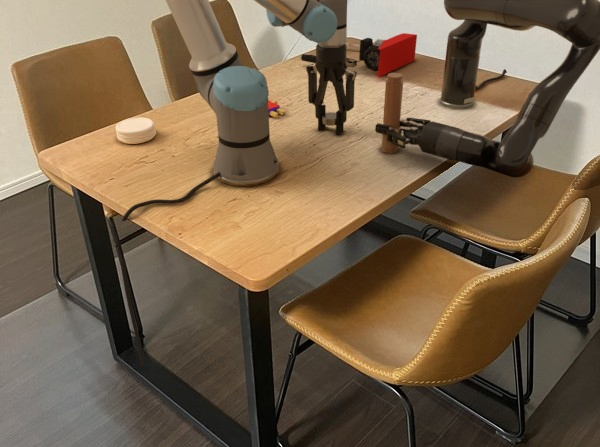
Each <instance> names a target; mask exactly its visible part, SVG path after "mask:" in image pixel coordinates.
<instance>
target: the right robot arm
mask: <svg viewBox="0 0 600 447" xmlns="http://www.w3.org/2000/svg"><path fill="white" fill-rule="evenodd" d="M443 6H444V10H445V12H446V13H447V15H448V16H449V18H451V19H453V20H455V21H463V22H462V23H461V24H460V25H458V26H457V27H455V28H454V29H452V30H451V31H449V33H448V35H447V42H446V49H445V50H446V51H445V59H444V68H443V77H442V85H441V94H440V98H439V99H440V100H439V101H440V104H441V105H443V106H444V107H448V108H451V109H467V108H470V107H473V105H474V102H475V93H476V91H479V90H481V88H482V87H483V86H485V84H488V83H490V82H495V81H498V80H500V79H503V78H504V77H505V75H506V74H507V70H506V69H505V68H504V69H503V70H502V73H501V75H499V76H495V77H491V78H487V79H486V80H483V81H482V82H481V83H480V84H479V85H478V86H477V78H478V72H479V64H480V59H481V50H482V43H483V39H484V37H485V35H486V33H487V28H488V25H491V26H495V27H500V28H504V29H507V30H513V31H519V32H525V31H529V30H532V29H534V28H535V27H539V28H542V29H545V30H549V31H551V32H554V33H555V34H556V35H558V36H560V37H561V38H564V39H565V40H566V41H567V42H569V43H571V46H570V49H569V50H568V53H567V55H566V57H565V58H564V59H563V61H562V62H561V64H560V65H559V66H557V68H556V69H554V70H553V71H552V72H551V73H550V74H549V75H547V76H546V77H545V78H544V79H542V80H541V81H540V82H539V83H537V85H536V86H534V88H532V90H531V91H530V92H529V94H528V95H527V97H526V99H525V100H524V103H523V105H522V107H521V108H520V111H519V113H518V115H517V117H516V119H515V121H514V123H513V124H512V126H511V127H510V128H509V130H508V131H507V132H506V133H505V135H504V136H503V138H502V139H501V141H497V140H494V139H491V138H490V137H488V136H486V135H482V134H479V133H475V132H471V131H468V130H465V129H463V128H459V127H456V126H452V125H449V124H445V123H440V122H436V121H432V120H430V119H424V118H415V117H406V119H403V118H402V119H401V118H400V127H399V128H396V127H390V126H387V125H383V123H376V124H375V127H374V128H375V130H374V131H375V133H377V134H380V135H382V134H384V135H387V141H388V142H390V143H392V144H394V145H396V146H398V148H400V149H405V148H406V147H407V146H406V145H412V146H418V147H419V148H420V151H421V152H422V153H423V154H427V155H431V156H435V157H438V158H442V159H445V160H449V161H453V162H454V161H455V162H459V163H463V164H467V165H469V166H475V167H481V168H484V169H487V170H488V171H489V170H490V171H492V172H495V173H498V174H501V175H504V176H507V177H509V178H522V177H524V176H526V175H528V174H529V173H530V172H531V170H532V169H533V167H534V164H535V163H534V162H535V161H534V160H535V159H534V157H533V154H532V152H533V150H534V148H535V147H536V145H537V143H538V142H539V140H540V139H542V138H544V137H545V136H546V134H547V133H548V131H549V130H550V128H551V126H552V123H553V122H554V120H555V118H556V116H557V114H558V113H559V110H560V108H561V107H562V105H563V103H564V101H565V100H566V98H567V96H568V95H569V93H570V91H571V90H572V89H573V87H574V86H575V85H576V83H577V82H578V80H579V79H580V78H581V77H582V75H583V74H584V72H585V71H586V70H587V69H588V67H589V66H590V64H591V62H592V61H593V60H594V58H595V57H596V56H597V54H598V53H599V51H600V1H599V0H443ZM394 131H397V132H398V133H396V132H394Z"/></svg>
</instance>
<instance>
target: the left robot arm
mask: <svg viewBox="0 0 600 447" xmlns="http://www.w3.org/2000/svg"><path fill="white" fill-rule="evenodd" d="M253 1H254V2H255V3H257V4H259V5H260V6H261V7H263V8H264V9H265V12H266V16H267V21H268V23H269V24H270V25H271V26H272V27H277V28H279V27H282V28H284V27H288V26H289V27H291V28H292V29H293V30H295V31H296V32H297V33H299V34H301V35H302V36H303V37H304V38H306V39H307V40H309V41H311V42H314V43H316V46H315V56H316V59H317V62H316V63H312V64H309V65H307V66H306V67H305V68H306V69H305V70H306V73H307V86H308V87H307V89H308V92H307V94H308V98H307V99H308V104H312V105H313V106H314V107H315V115H314V116H315V118H316V119H317V131H319V132H321V131H323V130H324V129H326V128H327V127H326V126H327V125H324V124H323V123H322V115H323V114H324V113H327V108H326V107H327V105H326V104H324V103H325V102H324V100H325V96H326V93H327V92H326V91H327V87H328V84H329V82H330V83H332V87H333V88H334V92H335V97H336V102H337V106H338V110H337V111H336V112H335V113H336V125H335V136H340V135H341V134H343V133H344V124H345V123H346V122H347V118H348V116H347V112H350V111H351V110H352V109H354V107H355V81H356V77H357V75H358V73H357V71H356V70H354V71H352V70H350V69H348V67H347V66H346V64H347V62H346V58H347V50H346V49H347V46H348V45H345V43H346V42H347V41H348V38H347V37H348V33H347V32H348V0H253ZM165 3H166V4H167V7H168V9H169V10H170V11H169V12H170V13H171V15H172V17H173V19H174V22H175V24H176V26H177V28H178V30H179V33H180V34H181V37H182V39H183V41H184V43H185V45H186V47H187V51H188V52H189V55H190V56H191V59H190V61H189V64H188V67H189V69H190V72H191V74H192V76H193V78H194V80H195V81H194V82H195V85H196V89H197V92H198V93H199V95H200V97H201V98H202V99H203V100H204V101H205V102H206V103H207V105H208V106H209V107H210V108H211V110H212V111H213V112H214V114H215V116H216V126H217V135H218V145H217V149H216V153H215V159H214V162H213V167H212V168H213V175H211V176H210V177H208V178H206V180H203V181H201V182H200V183H198V184H197V185H195V186H193V188H192V189H190V190H189V191H188V193H186V194H185V195H184V196H182V197H180V198H177V199H150V200H147V201H142V202H140V203H136V204H134V205H132V206H131V207H130V208H128V210H127V211H126V212H125V213H124V215H123V217H121V218H122V219H121V222H126V221H127V220H128V218H129V217H130V216H131V215H132V213H133V212H134V211H136V210H137V209H139V208H142V207H143V208H144V207H146V206H149V205H150V206H151V205H155V204H167V205H173V204H174V205H175V204H179V203H183V202H185V201H187V200H189V199H190V198H191V197H192V195H193V194H194V193H196V192H197V191H199V190H200V189H202V188H203V187H205V186H207V185H208V184H209V183H211V182H212V181H214V180H216V179H217V181H219V182H220V183H223V184H225V185H228V186H229V185H230V186H234V187H251V186H252V187H253V186H257V185H261V184H265V183H267V182H269V181H271V180H273V179H274V178H275V177H276V176H277V175H278V174H279V171H280V166H279V164H280V163H279V160H278V156H277V154H276V151H275V149H274V146H273V144H272V142H271V138H270V136H271V135H270V134H271V133H270V116H269V108H268V100H269V87H268V81H267V78H266V76H265V74H263V72H262V71H260V70H259V69H256V68H254V67H252V68H251V67H249V66H245V65H244V64H243V62H242V60H241V57H240V55H239V53H238V50H237V48H236V46H235V45H234V44H231V43H229V42H227V41H226V38H225V35H224V34H223V31H222V29H221V27H220V26H221V25H220V24H219V22H218V20H217V18H216V15H215V12H214V9H213V8H212V5H211V3H210V0H165ZM347 43H348V42H347ZM318 74H319V77H318ZM344 75H345V78H344ZM318 78H319V79H318ZM344 79H345V86H344ZM120 268H121V275H122V282H123V288H124V292H125V298H126V301H127V302H126V303H127V307H128V311H129V315H130V319H131V325H132V329H133V332H134V336H135V341H136V346H137V350H138V355H139V361H140V365H141V366H145V365H146V363H145V356H144V351H143V347H142V342H141V338H140V334H139V329H138V324H137V320H136V315H135V312H134V308H133V307H134V306H133V303H132V302H133V301H132V297H131V292H130V288H129V282H128V275H127V267H126V259H125V258H124V257H123V256H122V255H120Z"/></svg>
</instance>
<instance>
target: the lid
mask: <svg viewBox="0 0 600 447" xmlns="http://www.w3.org/2000/svg"><path fill="white" fill-rule="evenodd" d="M322 123H323V124H324V125H326V126H328V127H331V126H332V127H333V126H336V112H332V111H330V112H329V111H328V112H326V113H324V114H323V115H322Z"/></svg>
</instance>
